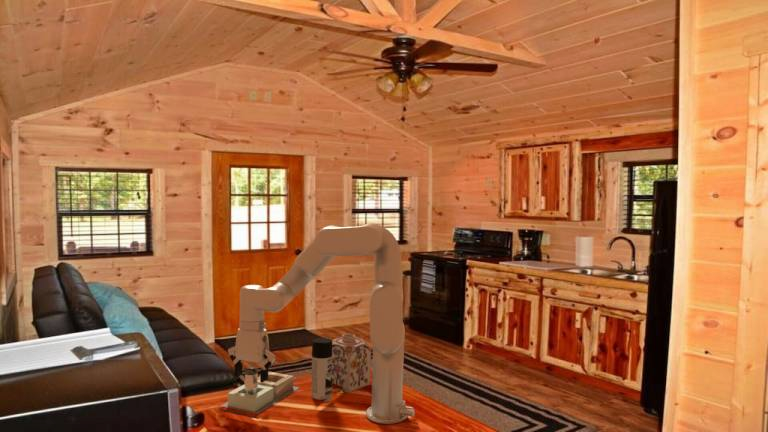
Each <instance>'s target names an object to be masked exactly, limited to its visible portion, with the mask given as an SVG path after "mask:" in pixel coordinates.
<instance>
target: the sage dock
mask: <svg viewBox="0 0 768 432" xmlns="http://www.w3.org/2000/svg"><path fill="white" fill-rule="evenodd" d="M272 400H273V388H272V387H267V386H262V385H258V393H256V394H255V395H249V394H245V383H244V384H242V385H241V386H238V387H237V388H235V389H232V390H231V391H229V392H227V402H228V406H231V407H236V408H240V409H245V410H249V411H254V412H255V411H256V410H258V409H260V408H261V407H263V406H264V405H266V404H268V403H269V402H271V401H272Z"/></svg>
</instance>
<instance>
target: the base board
mask: <svg viewBox="0 0 768 432" xmlns="http://www.w3.org/2000/svg"><path fill="white" fill-rule="evenodd" d="M299 389H300V386H294V385H293V388H292V389H290V390H288V391H287V392H285V393H284V394H282V395H280V396H279V397H277V398H275V397H273V400H272V401H271V402H269V403H268V404H266V405H264V406H263V407H261V408H260V409H258V410H256V411H255V412H254V411H249V410H245V409H240V408H236V407H231V406H228V401H226V402H225V403H222V404H221V405H220V407H224V408H227V409H232V410H233V409H234V410H237V411H242V412H247V413H250V414H255V415H260V414H261V413H262V412H264V411H266V410H267V409H269V408H270V407H272V406H273V405H275V404H277V403H278V402H280V401H281V400H283V399H284V398H286V397H288V396H289V395H291V394H293V392H295V391H297V390H299ZM219 411H220V412H225V413H230V414H234V415H237V416H238V415H239V416H243V417H247V418H252V419H255V420H258V419H260V417H258V416H257V417H256V416H252V415H248V414H244V413H243V414H242V413H239V412H234V411H231V410H230V411H229V410H225V409H222V408H221V409H219Z"/></svg>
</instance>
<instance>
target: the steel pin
mask: <svg viewBox="0 0 768 432" xmlns="http://www.w3.org/2000/svg"><path fill="white" fill-rule="evenodd" d="M258 370H259V368H258V367H257V366H254V365H252V366H251V365H250V366H246V367H244V384H245V394H249V395H255V394H256V393H258V377H259V376H258V372H259V371H258Z"/></svg>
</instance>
